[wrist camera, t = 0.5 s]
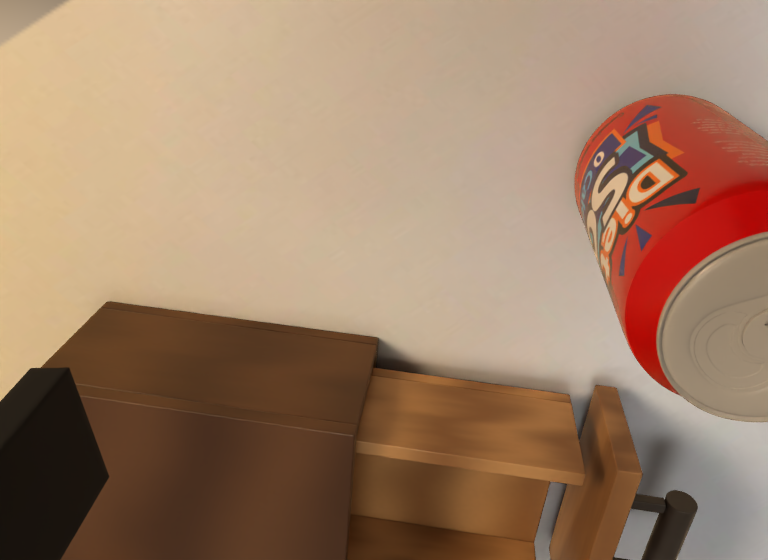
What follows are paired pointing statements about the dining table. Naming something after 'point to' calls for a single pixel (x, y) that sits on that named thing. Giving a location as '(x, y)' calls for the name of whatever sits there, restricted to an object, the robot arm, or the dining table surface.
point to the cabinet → (217, 435)
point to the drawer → (496, 474)
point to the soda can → (684, 246)
